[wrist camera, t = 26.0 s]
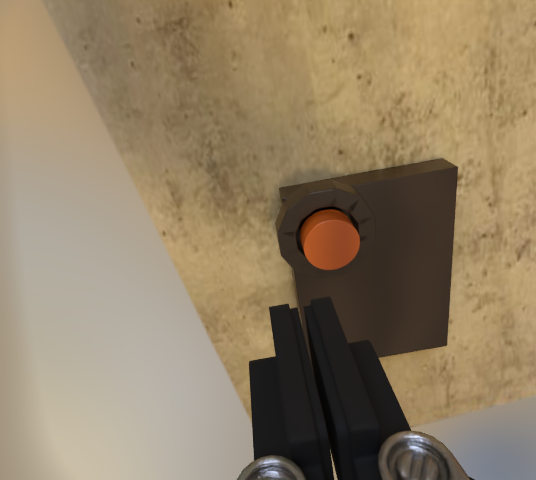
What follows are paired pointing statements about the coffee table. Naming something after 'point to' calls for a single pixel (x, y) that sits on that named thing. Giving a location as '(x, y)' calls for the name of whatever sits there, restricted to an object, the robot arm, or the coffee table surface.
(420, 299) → the button block
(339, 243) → the button
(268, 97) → the coffee table surface
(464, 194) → the coffee table surface
